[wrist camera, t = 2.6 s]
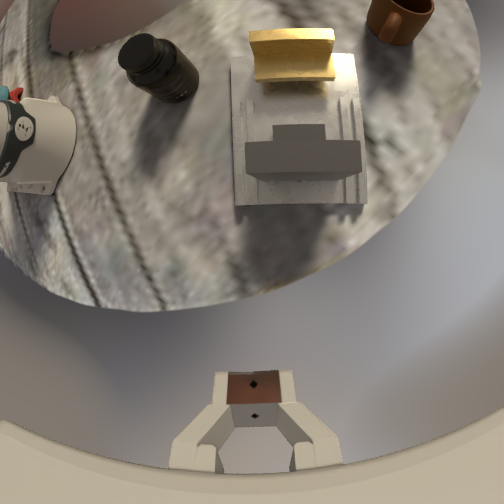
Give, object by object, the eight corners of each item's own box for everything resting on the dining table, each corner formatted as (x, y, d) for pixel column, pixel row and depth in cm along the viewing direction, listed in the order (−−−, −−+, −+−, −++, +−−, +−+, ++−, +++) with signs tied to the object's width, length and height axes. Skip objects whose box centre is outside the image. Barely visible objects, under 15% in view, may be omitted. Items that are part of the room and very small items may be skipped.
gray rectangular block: (263, 181, 33) (245, 173, 21) (260, 128, 32) (242, 95, 20) (339, 180, 32) (362, 172, 20) (335, 127, 31) (355, 93, 19)
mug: (395, 76, 29) (420, 47, 20) (346, 48, 29) (358, 12, 20) (418, 27, 26) (440, -3, 17) (374, 2, 27) (387, -33, 17)
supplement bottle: (149, 82, 34) (103, 52, 23) (187, 55, 33) (150, 15, 21) (168, 114, 35) (121, 88, 23) (209, 86, 33) (175, 48, 22)
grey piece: (237, 205, 36) (220, 207, 28) (233, 62, 32) (216, 32, 24) (364, 203, 33) (384, 205, 25) (351, 59, 30) (363, 28, 21)
